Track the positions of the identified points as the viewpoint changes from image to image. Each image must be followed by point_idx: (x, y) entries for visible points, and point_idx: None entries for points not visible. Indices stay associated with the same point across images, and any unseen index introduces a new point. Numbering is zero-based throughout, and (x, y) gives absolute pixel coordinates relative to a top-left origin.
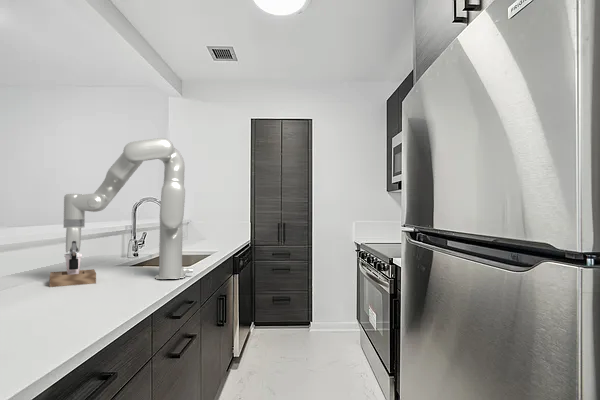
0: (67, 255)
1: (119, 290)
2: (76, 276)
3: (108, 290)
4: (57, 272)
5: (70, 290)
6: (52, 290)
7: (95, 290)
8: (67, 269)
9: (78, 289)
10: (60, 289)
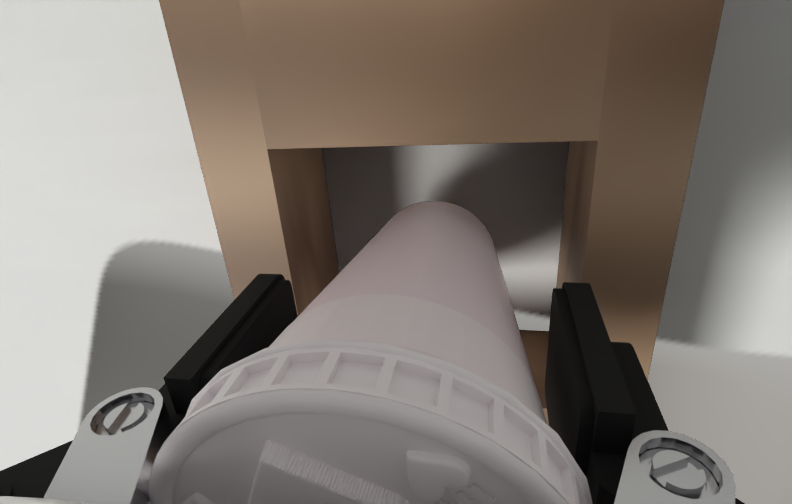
0: (186, 428)
1: (22, 456)
2: None
3: (24, 413)
4: (589, 69)
5: (35, 201)
6: (43, 43)
7: (27, 354)
8: (370, 246)
9: (72, 259)
10: (86, 118)
